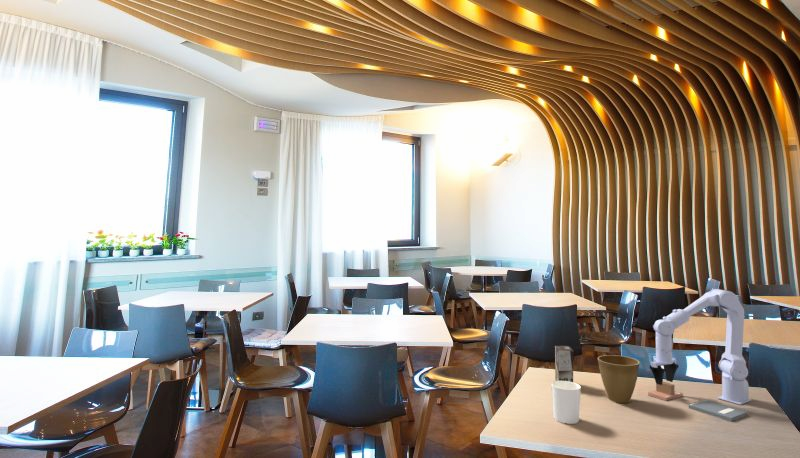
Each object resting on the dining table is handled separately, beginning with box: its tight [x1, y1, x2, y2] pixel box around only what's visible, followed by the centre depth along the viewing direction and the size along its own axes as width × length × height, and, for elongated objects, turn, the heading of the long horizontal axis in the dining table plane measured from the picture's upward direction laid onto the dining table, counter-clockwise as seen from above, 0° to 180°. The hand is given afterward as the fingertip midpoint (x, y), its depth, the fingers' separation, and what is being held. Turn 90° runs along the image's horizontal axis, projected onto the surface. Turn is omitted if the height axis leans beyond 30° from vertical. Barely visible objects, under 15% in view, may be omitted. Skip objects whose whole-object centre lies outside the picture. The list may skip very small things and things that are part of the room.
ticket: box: [688, 399, 748, 422], centre depth 162 cm, size 12×14×1 cm
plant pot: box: [597, 354, 640, 404], centre depth 173 cm, size 15×15×16 cm
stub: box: [647, 381, 684, 401], centre depth 179 cm, size 12×7×5 cm, turn 119°
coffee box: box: [554, 345, 574, 383], centre depth 192 cm, size 9×6×16 cm
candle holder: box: [550, 381, 582, 425], centre depth 154 cm, size 10×10×12 cm
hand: (664, 382), depth 179 cm, fingers open, 7 cm apart
